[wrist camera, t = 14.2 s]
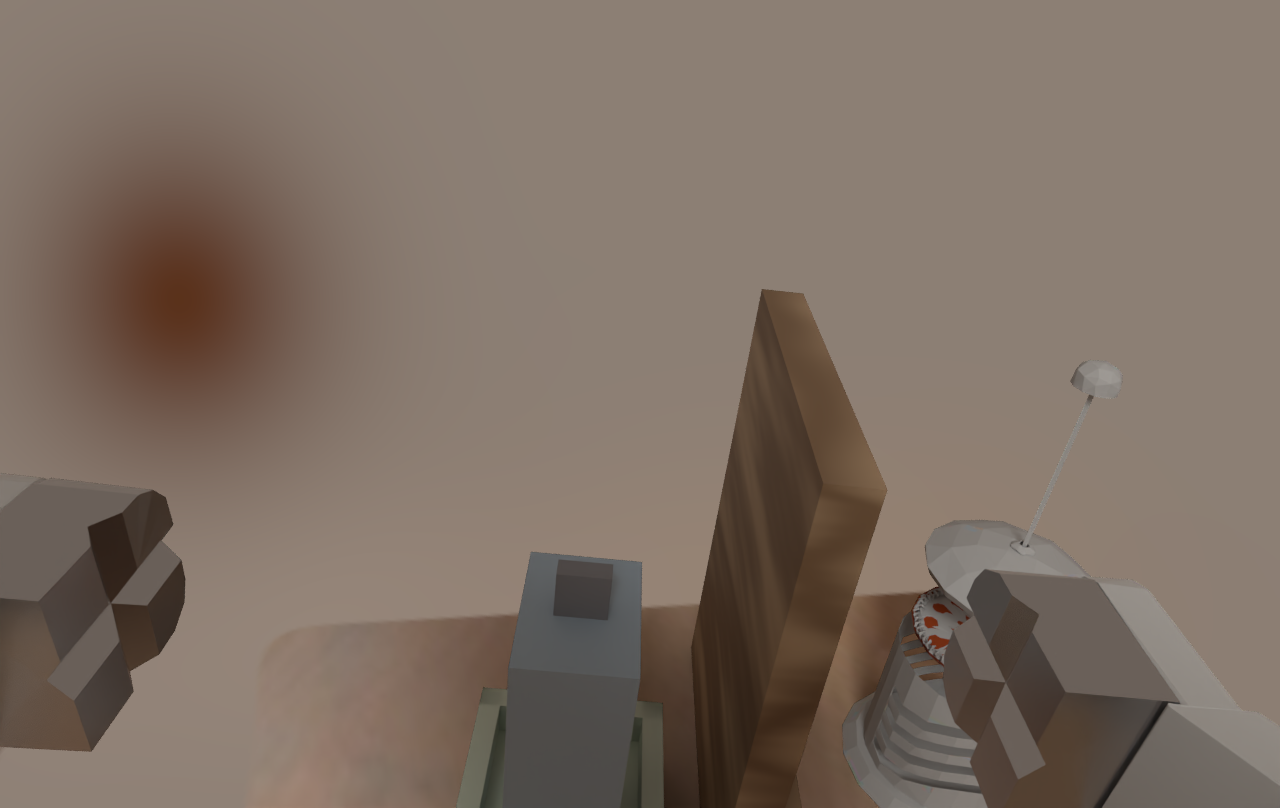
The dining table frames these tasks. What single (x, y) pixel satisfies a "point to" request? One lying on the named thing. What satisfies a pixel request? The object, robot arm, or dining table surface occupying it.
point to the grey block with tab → (573, 683)
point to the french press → (918, 710)
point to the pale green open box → (487, 756)
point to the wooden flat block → (779, 562)
